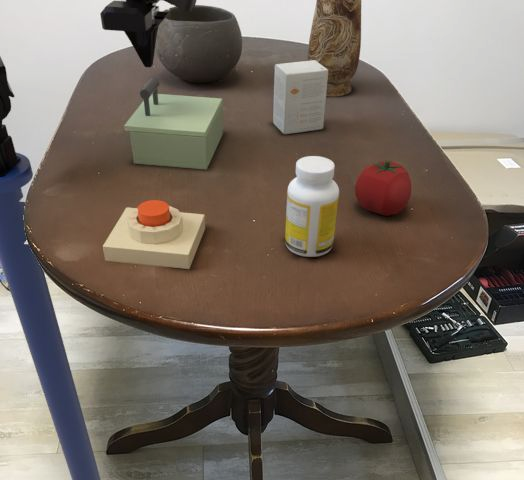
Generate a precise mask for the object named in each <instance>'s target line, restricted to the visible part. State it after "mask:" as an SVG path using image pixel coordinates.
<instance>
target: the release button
mask: <svg viewBox="0 0 524 480" xmlns="http://www.w3.org/2000/svg"><path fill="white" fill-rule="evenodd" d="M169 206H170V205H169V204H168V203H167V202H165V201H163V200H159V199H158V200H157V199H152V200H151V199H150V200H146V201H143V202H142V203H140V204H139V205H138V206H137V208H138V217H139V222H140V223H141V224H142V225H143V226H148V227H157V226H163V225H165V224H167V223H168V222H169V221H170V210H169Z"/></svg>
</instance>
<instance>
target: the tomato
mask: <svg viewBox="0 0 524 480" xmlns="http://www.w3.org/2000/svg"><path fill="white" fill-rule="evenodd" d="M354 193H355V197H356V200H357V202H358V204H359V205H360V206H361V208H363V209H364V210H366V211H369V212H373V213H375V214H378V215H381V216H384V217H389V216H392V215H396V214H397V215H398V214H400V212H401V211H402V210H403V209H405V207H406V206H407V205H408V203H409V202H410V198H411V197H412V180H411V177H410V174H409V172H408V171H407V170H406V168H405V167H404V166H403V165H401V164H399V163H396V162H394V161H390V160H385V161H382V162H378V163H372V164H370V165H367V166H366V167H365V168H364V169H362V171H361V172H360V173H359V175H358V177H357V179H356V183H355V186H354Z"/></svg>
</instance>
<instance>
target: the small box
mask: <svg viewBox="0 0 524 480" xmlns="http://www.w3.org/2000/svg"><path fill="white" fill-rule="evenodd" d="M273 79H274V81H273V83H274V84H273V88H274V89H273V113H272V115H273V116H272V117H273V118H272V124H273V125H274V126H275V127H276V128H277V129H278V130H279V131H280V132H281V133H282V134H283V135H290V134H297V133H305V132H311V131H313V132H314V131H318V130H323V129H324V122H325V113H326V112H325V111H326V99H327V96H326V90H327V79H328V70H327V69H326V68H325V67H324V66H322V65H321V64H320V63H318V62H317V61H315V60H312V61H308V60H302V61H293V62H285V63H276V64H274V78H273Z"/></svg>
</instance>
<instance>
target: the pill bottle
mask: <svg viewBox="0 0 524 480" xmlns="http://www.w3.org/2000/svg"><path fill="white" fill-rule="evenodd" d="M335 168H336V167H335V163H334V161H333V160H331V159H329V158H327V157H324V156H321V155H308V156H303V157H301V158H298V160H297V161H296V162H295V176H296V177H294V178H293V179H292V180H290V182H289V184H288V186H287V191H286V193H287V194H286V210H285V211H286V212H285V233H284V234H285V235H284V242H285V246H286V247H287V249H288V250H289V251H290V252H291V253H293V254H295V255H297V256H300V257H305V258H314V257H315V258H316V257H321V256H324V255H326V254H328V253H329V252H330V251H331V250H332V248H333V246H334V242H335V241H334V240H335V233H336V225H337V224H336V223H337V216H338V215H337V214H338V206H339V197H340V188H339V186H338V184H337V182H336V181H335V180H334V179H333V178H334V175H335Z"/></svg>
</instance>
